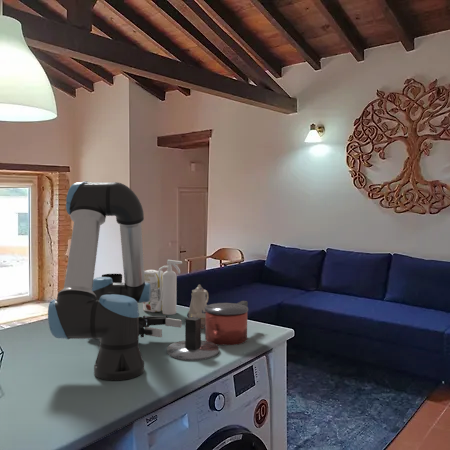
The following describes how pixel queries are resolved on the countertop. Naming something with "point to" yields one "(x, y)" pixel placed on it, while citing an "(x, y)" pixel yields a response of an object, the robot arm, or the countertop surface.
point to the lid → (192, 343)
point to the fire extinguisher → (168, 288)
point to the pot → (226, 323)
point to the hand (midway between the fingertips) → (171, 328)
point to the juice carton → (153, 289)
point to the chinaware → (198, 304)
